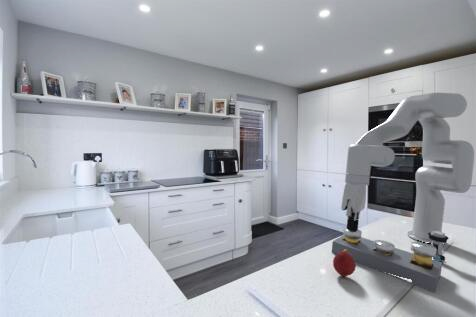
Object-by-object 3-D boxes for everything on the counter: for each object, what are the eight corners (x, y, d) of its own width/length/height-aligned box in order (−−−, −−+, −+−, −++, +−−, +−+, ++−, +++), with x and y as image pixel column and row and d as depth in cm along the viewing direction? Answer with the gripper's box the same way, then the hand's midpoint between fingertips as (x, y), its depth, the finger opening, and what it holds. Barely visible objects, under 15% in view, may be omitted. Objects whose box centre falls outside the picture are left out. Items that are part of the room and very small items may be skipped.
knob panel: (346, 242, 90) (347, 232, 90) (440, 275, 70) (442, 262, 70) (331, 252, 81) (332, 241, 81) (434, 292, 61) (436, 278, 61)
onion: (344, 284, 62) (347, 256, 62) (327, 273, 68) (329, 246, 67) (358, 279, 65) (361, 252, 65) (341, 269, 70) (343, 243, 70)
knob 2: (411, 258, 72) (413, 240, 72) (435, 266, 68) (437, 246, 68) (407, 264, 68) (409, 244, 68) (432, 273, 64) (435, 252, 64)
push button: (453, 267, 75) (456, 238, 75) (436, 266, 76) (439, 236, 75) (436, 257, 82) (440, 230, 81) (421, 256, 82) (424, 229, 82)
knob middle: (375, 255, 80) (376, 238, 79) (394, 262, 76) (396, 244, 75) (369, 260, 76) (371, 242, 75) (390, 268, 72) (392, 249, 71)
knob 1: (346, 241, 87) (347, 226, 87) (362, 247, 83) (364, 230, 82) (339, 245, 83) (340, 229, 83) (356, 251, 79) (358, 234, 78)
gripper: (353, 176, 89) (349, 223, 90) (337, 179, 79) (332, 231, 80) (375, 179, 84) (370, 229, 85) (360, 182, 73) (355, 238, 75)
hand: (352, 230), depth 82 cm, fingers closed
